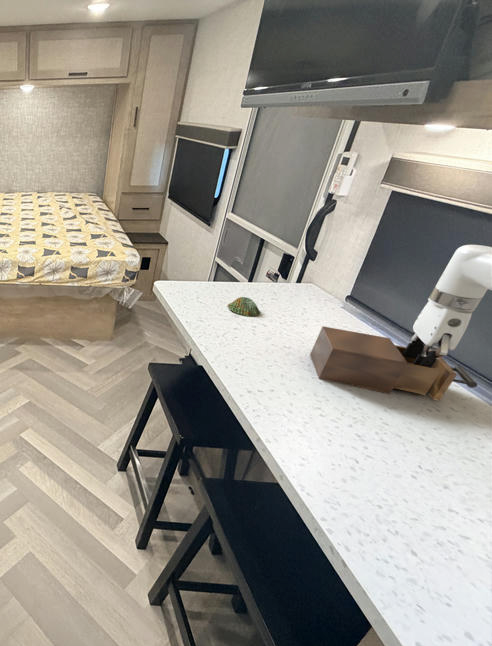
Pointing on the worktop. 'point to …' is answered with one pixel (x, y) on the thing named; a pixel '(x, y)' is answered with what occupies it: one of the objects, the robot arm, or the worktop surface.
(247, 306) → the seashell
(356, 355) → the cabinet
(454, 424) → the worktop surface
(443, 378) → the drawer
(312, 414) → the worktop surface
